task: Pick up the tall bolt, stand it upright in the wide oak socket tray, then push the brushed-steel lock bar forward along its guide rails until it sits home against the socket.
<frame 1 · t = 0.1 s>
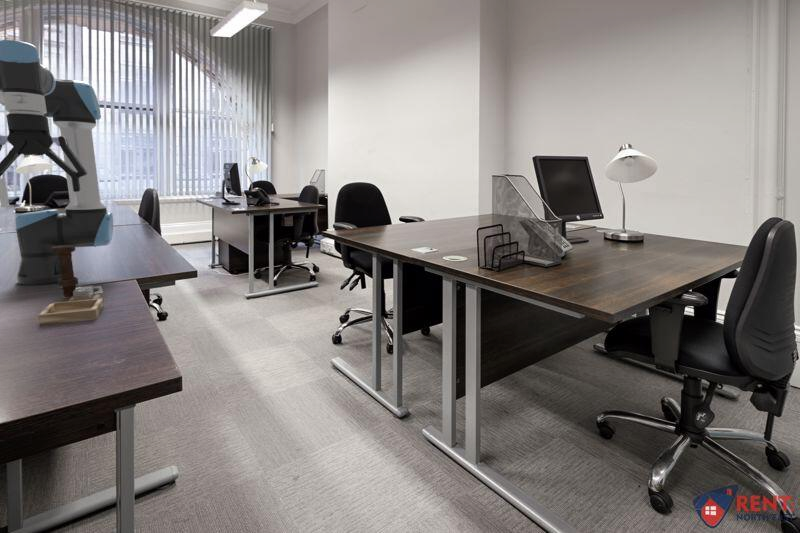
hand: (40, 206, 110), 28 cm above the table, tool pointing down, fingers open, 13 cm apart
lock bar: (83, 294, 129), point 2 cm above the table, slide at 0.0 cm
bolt: (70, 297, 134), on the table
socket: (73, 315, 117), on the table
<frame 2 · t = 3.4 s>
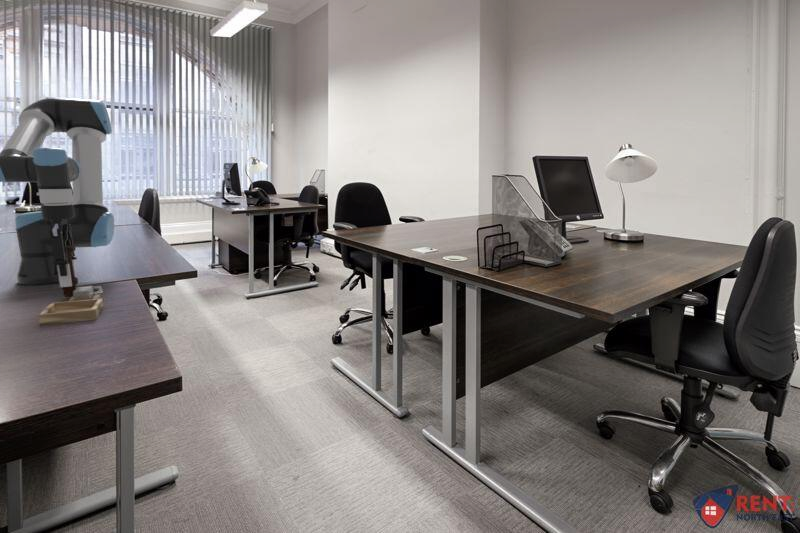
hand: (68, 284, 133), 4 cm above the table, tool pointing down, fingers closed on bolt, 5 cm apart
bolt: (70, 297, 134), on the table, touching gripper
everything else where it was.
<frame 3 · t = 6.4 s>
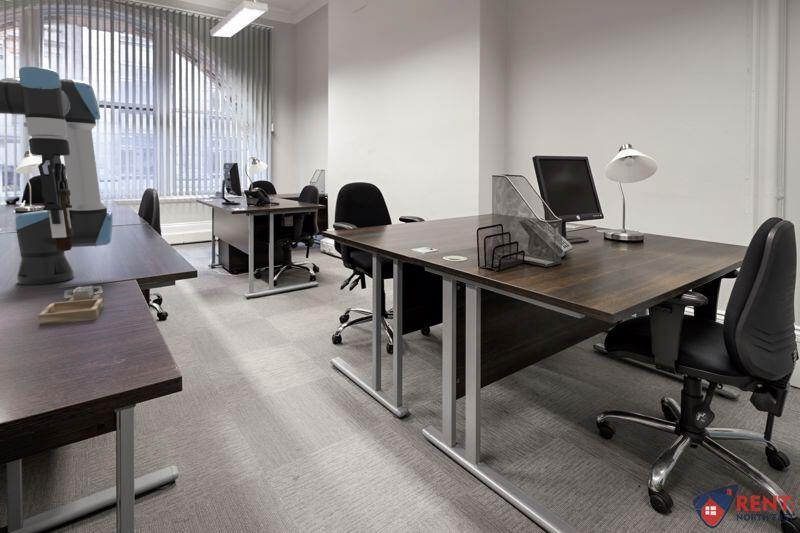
hand: (62, 235, 113), 21 cm above the table, tool pointing down, fingers closed on bolt, 5 cm apart
bolt: (64, 251, 113), point 17 cm above the table, touching gripper
everything else where it was.
when the fingers open (5 cm above the table, at t = 9.5 s): bolt stays where it is, resting on socket.
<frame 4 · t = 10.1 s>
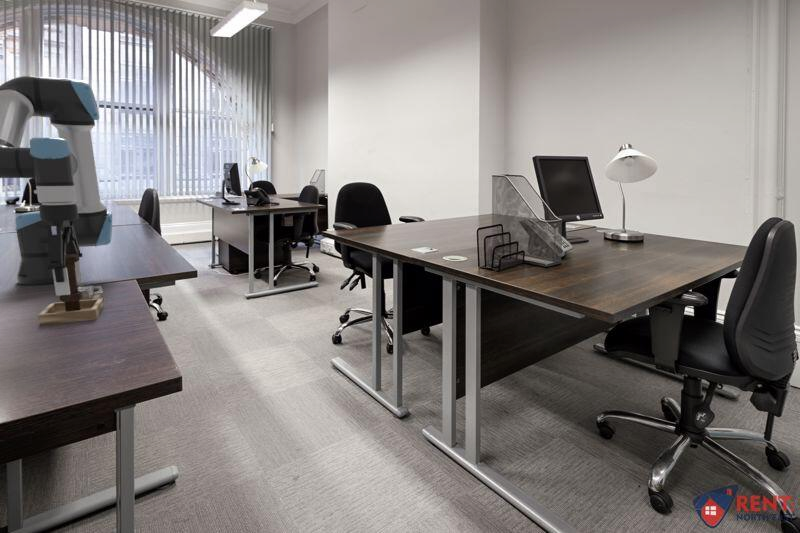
hand: (70, 288, 115), 7 cm above the table, tool pointing down, fingers open, 13 cm apart
bolt: (73, 314, 117), resting on socket
everything else where it was.
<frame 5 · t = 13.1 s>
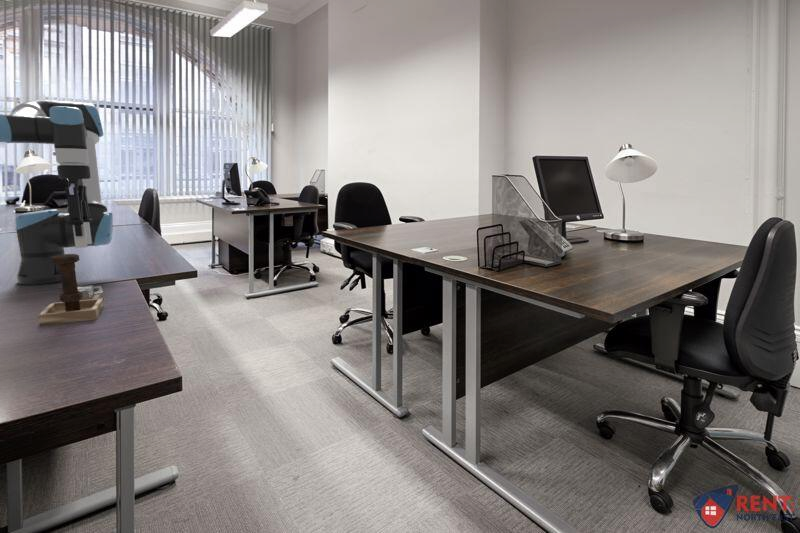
hand: (83, 245, 133), 15 cm above the table, tool pointing down, fingers open, 6 cm apart
nothing on the table moved.
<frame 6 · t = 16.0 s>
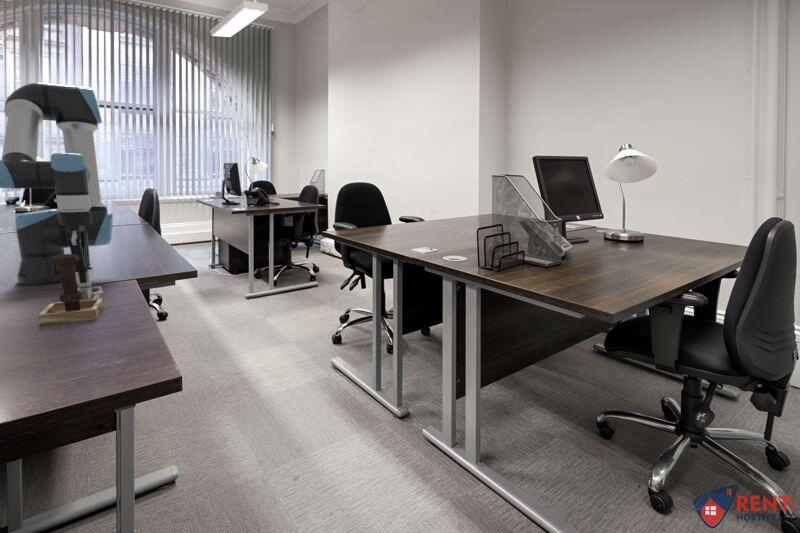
hand: (86, 293, 131), 2 cm above the table, tool pointing down, fingers closed
lock bar: (82, 295, 127), point 2 cm above the table, slide at 1.5 cm, touching gripper
everything else where it was.
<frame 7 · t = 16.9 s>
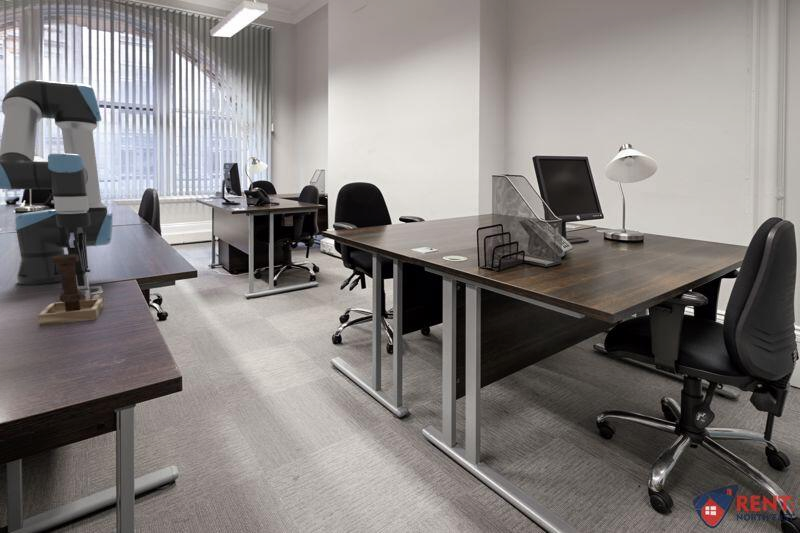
hand: (83, 296, 128), 2 cm above the table, tool pointing down, fingers closed
lock bar: (80, 298, 125), point 2 cm above the table, slide at 4.3 cm, touching gripper
everything else where it was.
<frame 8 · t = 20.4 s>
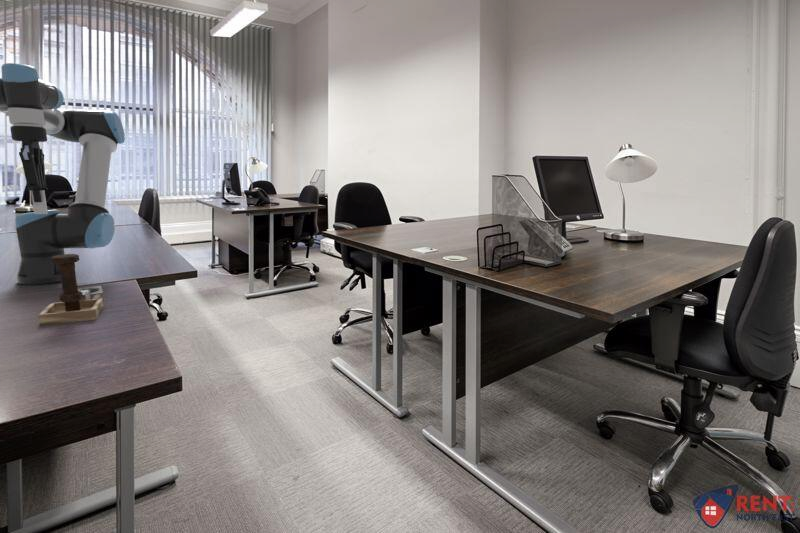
hand: (41, 213, 128), 24 cm above the table, tool pointing down, fingers closed
lock bar: (80, 298, 125), point 2 cm above the table, slide at 4.3 cm
everything else where it was.
at the end: bolt inside the target area on the socket (0.1 cm from its centre), point 0.4 cm above the socket's base; bolt tilted 0°; lock bar slide at 4.3 cm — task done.
